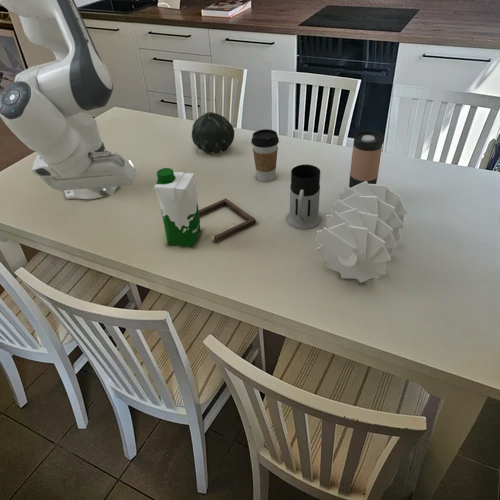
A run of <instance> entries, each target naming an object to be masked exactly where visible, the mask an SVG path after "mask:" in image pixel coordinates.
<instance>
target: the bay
mask: <svg viewBox="0 0 500 500" xmlns="http://www.w3.org/2000/svg"><path fill="white" fill-rule="evenodd" d="M223 207H226V208H228V209H229V210H230V211H232V212H233V213H235V214H236V215H238V216H239V217H241V218H242V220H244V221H243V222H241V223H239V224H236V225H234V226H232V227H230V228H228V229H226V230H224V231H222V232H219V233H217V234H215V235H214V236H213V240H214V242H215V243H219V242H221V241H223V240H226V239H227V238H229V237H232V236H235V235H236V234H238V233H240V232H243V231H245V230H247V229H248V228H250V227H252V226H254V225H256V224H257V219H256V218H255V217H253V216H252V215H250V214H249V213H248V212H246V211H244V210H243V209H242V208H240V207H239V206H238V205H236V204H235V203H233V202H232V201H230V200H229V199H227V198H224V199H223V198H222V199H221V200H218V201H217V202H214V203H213V204H209V205H208V206H205V207H203V208H200V209H198V211H199V218H201V217H202V216H205V215H207V214H209V213H211V212H214V211H216V210H218V209H221V208H223Z"/></svg>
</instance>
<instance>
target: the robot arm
mask: <svg viewBox="0 0 500 500" xmlns="http://www.w3.org/2000/svg"><path fill="white" fill-rule="evenodd" d="M0 5H1V6H3V8H5V9H6V10H8V11H10V12H11V13H12V14H15V15H17V16H18V18H19V20H20V24H21V27H22V29H23V30H22V31H23V33H24V35H25V37H26V38H27V39H28V40H29V41H30V43H32V44H33V45H36V46H38V47H41V48H45V49H49V50H51V51H52V53H53V54H54V57H55V60H53V61H49V62H45V63H41V64H37V65H33V66H30V67H28V68H26V69H24V70H22V71H20V72H19V73H17V74H16V75H15V77H14V81H13V82H11V83H9V84H8V85H6V86H5V87H4V88H3V89H2V90H1V92H0V118H1V120H2V121H3V122H4V124H5V125H6V127H7V128H8V129H9V130H10V131H11V132H12V133H13V135H15V136H16V137H17V139H18V140H20V142H21V143H23V144H24V145H25V146H26V147H27V148H28V149H30V150H32V151H34V152H36V153H37V154H36V156H35V158H34V161H33V163H32V167H31V172H32V173H33V175H35V176H37V177H39V178H40V180H42V181H43V182H44V183H45V184H46V185H47V186H49V187H50V188H51V189H53V190H55V191H59V192H61V191H64V195H65V198H66V199H67V200H68V199H69V200H72V199H80V200H96V199H99V198H104V197H114V195H115V191H116V190H117V189H118V187H127V186H133V184H134V182H135V180H136V176H137V170H136V168H135V167H134V165H133V163H132V161H131V160H127V159H126V158H125V157H124V156H123V155H122V154H120V153H118V152H116V151H110V150H106V147H105V144H104V142H103V141H102V138H101V135H100V130H99V127H98V123H97V121H96V120H95V118H94V117H93V116H92V115H91V114H89V113H87V112H85V111H92V110H96V109H101V108H105V107H106V106H107V104H108V103H109V102H110V100H111V97H112V94H113V91H114V84H113V81H112V78H111V75H110V73H109V70H108V67H107V64H106V63H105V62H104V60H103V59H102V58H101V56H100V54H99V52H98V51H97V48H96V46H95V44H94V41H93V39H92V36H91V35H90V32H89V30H88V28H87V25H86V23H85V21H84V18H83V17H82V15H81V13H80V10H79V8H78V5H77V4H76V1H75V0H0Z"/></svg>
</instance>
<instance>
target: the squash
mask: <svg viewBox="0 0 500 500" xmlns="http://www.w3.org/2000/svg"><path fill="white" fill-rule="evenodd" d="M191 139H192V142H193V144H194V145H195V146H196V147H197V148H198V150H201V151H203V152H204V153H205V154H206V155H210V154H212V153H213V154H214V155H217V154H219V153H220V152H226V151H228V149H230V146H231V145H232V144H233V143H234V139H235V129H234V126H233V125H232V123H231V122H230V121H229V120H228V119H227V118H226V117H225V116H223V115H220V114H219V113H216V112H212V111H211V112H205V113H204V114H202V115H201V116H199V117H198V118H197V119H195V121H194V122H193V124H192V128H191Z"/></svg>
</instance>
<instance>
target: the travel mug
mask: <svg viewBox="0 0 500 500" xmlns="http://www.w3.org/2000/svg"><path fill="white" fill-rule="evenodd" d="M383 143H384V136H383V134H381V132H378V131H375V130H361V131H358V132H356V133H354V137H353V143H352V144H353V145H352V152H351V153H352V154H351V161H350V170H349V182H348V187H350V188H352V187H353V186H356V185H358V184H360V183H363V182H365V181H367V182H368V184H378V178H379V177H378V176H379V170H380V163H381V157H382V150H383Z"/></svg>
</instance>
